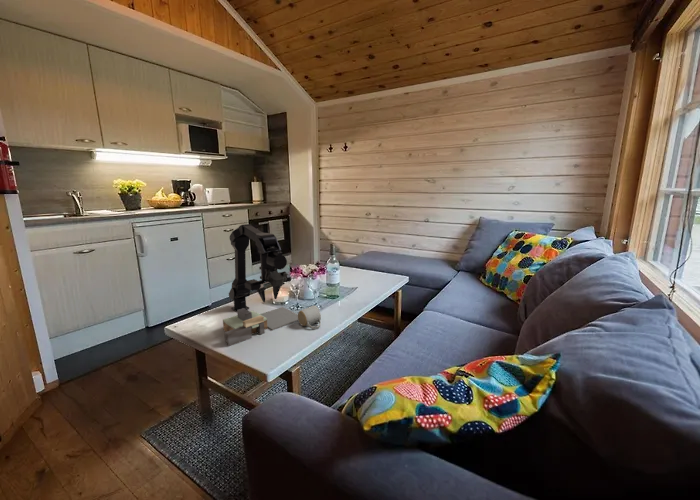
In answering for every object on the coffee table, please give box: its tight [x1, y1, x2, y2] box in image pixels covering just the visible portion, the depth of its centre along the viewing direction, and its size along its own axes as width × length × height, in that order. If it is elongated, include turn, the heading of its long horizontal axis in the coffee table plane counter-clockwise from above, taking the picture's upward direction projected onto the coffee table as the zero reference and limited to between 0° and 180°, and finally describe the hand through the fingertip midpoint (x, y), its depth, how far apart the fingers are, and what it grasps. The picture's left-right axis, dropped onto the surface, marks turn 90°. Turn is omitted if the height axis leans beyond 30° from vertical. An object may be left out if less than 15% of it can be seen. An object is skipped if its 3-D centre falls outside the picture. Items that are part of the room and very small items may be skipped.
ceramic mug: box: [297, 305, 322, 330], centre depth 140 cm, size 11×8×8 cm
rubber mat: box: [259, 306, 299, 331], centre depth 148 cm, size 18×17×1 cm
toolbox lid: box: [222, 308, 267, 329], centre depth 135 cm, size 15×14×4 cm
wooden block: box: [243, 315, 264, 328], centre depth 131 cm, size 2×8×2 cm, turn 135°
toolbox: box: [222, 320, 268, 347], centre depth 134 cm, size 15×18×5 cm
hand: (269, 300), depth 135 cm, fingers open, 5 cm apart
